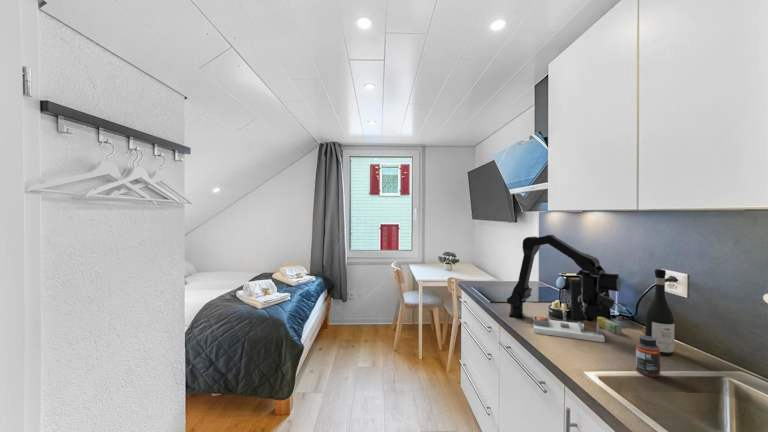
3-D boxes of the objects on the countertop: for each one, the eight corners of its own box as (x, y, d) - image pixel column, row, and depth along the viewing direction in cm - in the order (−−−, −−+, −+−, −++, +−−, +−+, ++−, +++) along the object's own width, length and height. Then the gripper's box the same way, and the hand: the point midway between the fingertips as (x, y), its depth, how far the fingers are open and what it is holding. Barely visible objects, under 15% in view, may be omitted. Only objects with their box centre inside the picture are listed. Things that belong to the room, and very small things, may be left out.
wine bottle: (679, 357, 114) (680, 272, 114) (653, 355, 116) (654, 271, 115) (664, 347, 122) (665, 268, 122) (640, 346, 123) (641, 267, 123)
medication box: (621, 335, 135) (622, 325, 135) (615, 335, 135) (615, 325, 135) (602, 325, 147) (602, 316, 147) (596, 325, 147) (596, 316, 147)
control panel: (533, 322, 150) (533, 313, 150) (597, 330, 140) (597, 320, 140) (533, 332, 137) (534, 323, 137) (604, 342, 127) (604, 332, 127)
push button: (536, 320, 145) (536, 316, 145) (546, 322, 144) (546, 317, 144) (536, 323, 142) (536, 319, 142) (546, 324, 140) (546, 320, 140)
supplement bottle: (651, 369, 106) (651, 334, 106) (665, 378, 100) (665, 341, 100) (631, 368, 107) (631, 333, 106) (644, 377, 101) (644, 341, 100)
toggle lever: (562, 320, 140) (561, 310, 142) (566, 321, 140) (566, 311, 141) (562, 320, 139) (562, 310, 140) (567, 321, 138) (566, 311, 139)
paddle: (583, 329, 135) (583, 320, 135) (596, 330, 133) (596, 321, 133) (584, 330, 134) (584, 321, 134) (596, 331, 132) (596, 322, 132)
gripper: (618, 294, 123) (618, 335, 124) (607, 284, 140) (607, 320, 141) (584, 291, 128) (584, 331, 128) (577, 282, 145) (577, 316, 145)
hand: (589, 324), depth 135 cm, fingers closed
